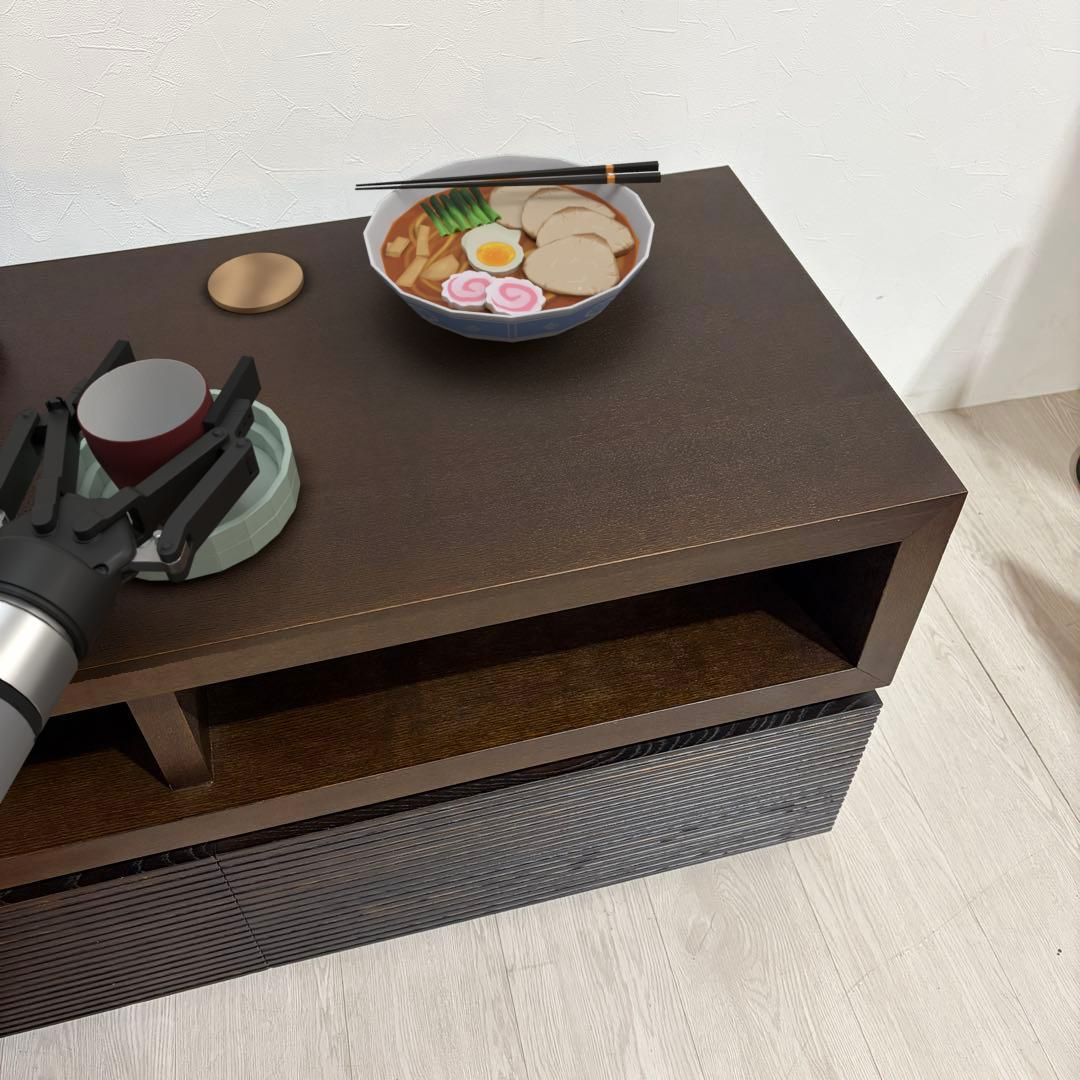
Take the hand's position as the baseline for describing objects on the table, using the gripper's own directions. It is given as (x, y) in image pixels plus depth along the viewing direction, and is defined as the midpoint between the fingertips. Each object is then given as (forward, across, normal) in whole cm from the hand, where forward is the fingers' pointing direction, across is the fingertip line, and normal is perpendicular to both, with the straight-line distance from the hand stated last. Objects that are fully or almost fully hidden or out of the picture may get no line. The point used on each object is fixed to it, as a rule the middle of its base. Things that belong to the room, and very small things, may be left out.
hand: (190, 364), depth 73 cm
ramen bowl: (+22, +17, -9) cm, 29 cm away
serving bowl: (-5, 0, -9) cm, 10 cm away
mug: (-5, 0, -8) cm, 9 cm away
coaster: (+20, -5, -9) cm, 23 cm away
